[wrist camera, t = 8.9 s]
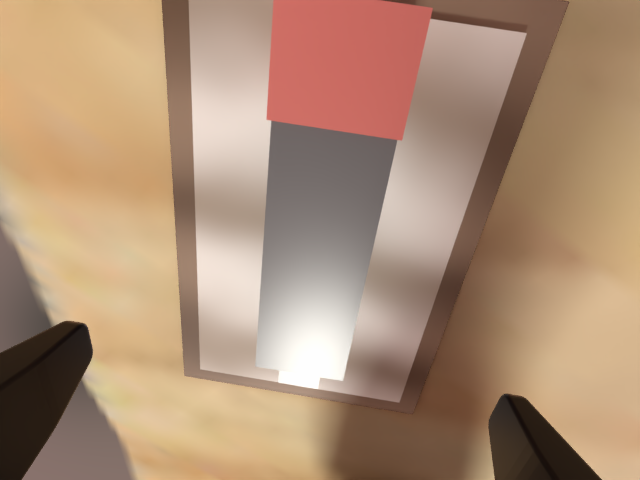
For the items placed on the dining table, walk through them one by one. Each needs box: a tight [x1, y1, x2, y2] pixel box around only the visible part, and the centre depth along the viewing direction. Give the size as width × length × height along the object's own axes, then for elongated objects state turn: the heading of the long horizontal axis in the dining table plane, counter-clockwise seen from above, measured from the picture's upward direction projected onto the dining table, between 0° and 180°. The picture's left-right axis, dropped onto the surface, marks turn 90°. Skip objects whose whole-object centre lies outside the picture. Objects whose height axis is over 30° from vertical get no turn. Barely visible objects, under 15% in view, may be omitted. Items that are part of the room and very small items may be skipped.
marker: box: [255, 0, 433, 389], centre depth 15 cm, size 15×4×4 cm, turn 173°
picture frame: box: [162, 0, 569, 414], centre depth 18 cm, size 20×13×1 cm, turn 173°
